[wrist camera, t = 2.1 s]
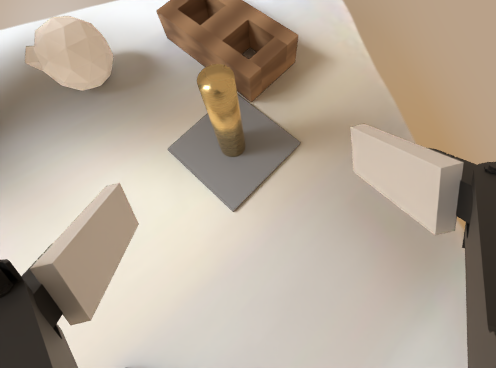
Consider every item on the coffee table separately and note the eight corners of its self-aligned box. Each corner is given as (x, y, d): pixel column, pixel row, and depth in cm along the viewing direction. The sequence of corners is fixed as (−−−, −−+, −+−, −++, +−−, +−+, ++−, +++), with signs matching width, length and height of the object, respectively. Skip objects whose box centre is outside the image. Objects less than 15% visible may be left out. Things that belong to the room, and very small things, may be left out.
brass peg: (215, 146, 34) (189, 80, 23) (233, 130, 35) (216, 58, 24) (232, 162, 33) (215, 101, 22) (250, 144, 34) (242, 77, 23)
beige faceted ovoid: (130, 39, 40) (63, 45, 42) (78, -6, 31) (-3, 5, 33) (126, 98, 39) (59, 99, 42) (72, 69, 30) (-9, 74, 33)
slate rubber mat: (168, 150, 35) (167, 148, 35) (233, 92, 37) (232, 90, 37) (233, 211, 32) (232, 211, 31) (300, 143, 34) (300, 142, 34)
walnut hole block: (167, 38, 42) (156, 10, 37) (209, 5, 44) (203, -25, 39) (251, 102, 37) (249, 78, 32) (295, 62, 38) (298, 35, 34)
